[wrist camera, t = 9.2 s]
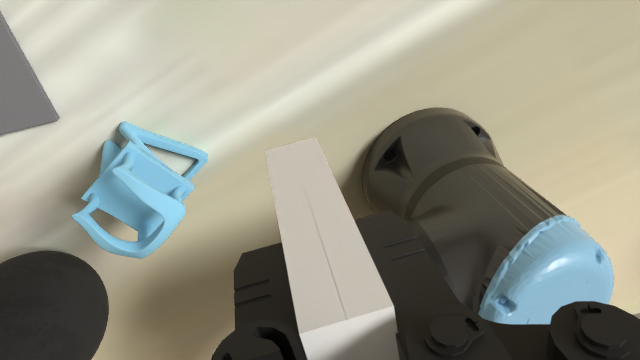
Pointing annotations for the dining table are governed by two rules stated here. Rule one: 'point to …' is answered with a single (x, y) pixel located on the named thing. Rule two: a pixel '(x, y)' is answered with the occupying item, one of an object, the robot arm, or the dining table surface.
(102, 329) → the decorative egg
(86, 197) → the chair
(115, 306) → the dining table surface
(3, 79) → the mat
